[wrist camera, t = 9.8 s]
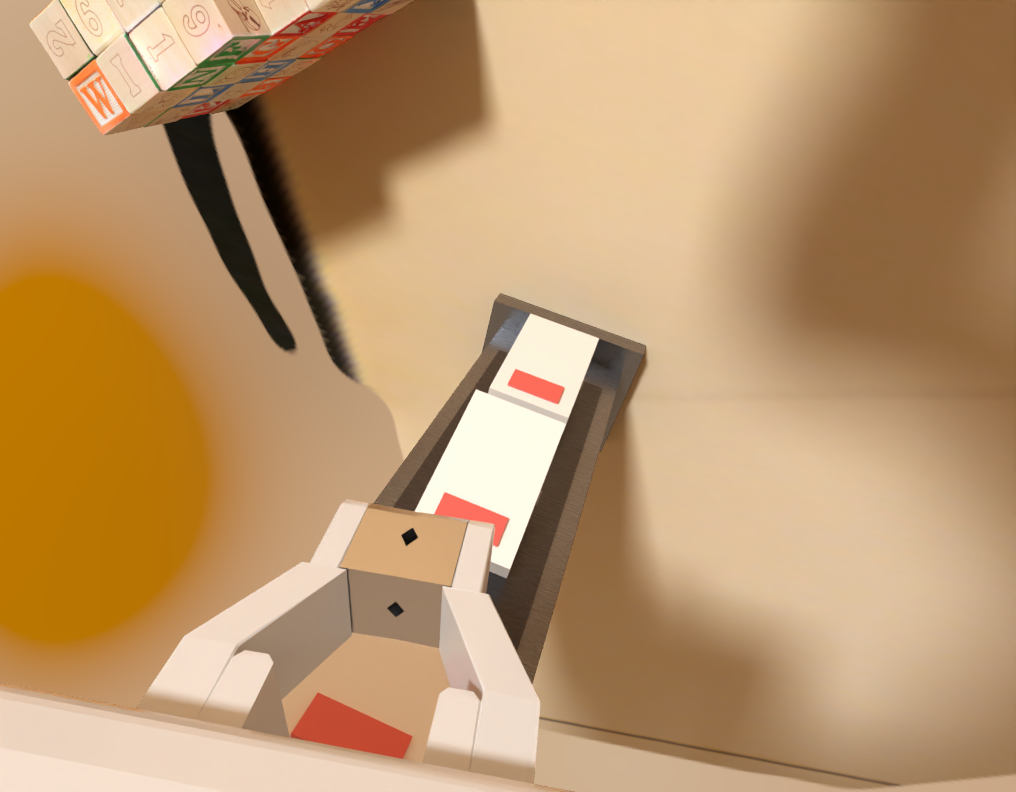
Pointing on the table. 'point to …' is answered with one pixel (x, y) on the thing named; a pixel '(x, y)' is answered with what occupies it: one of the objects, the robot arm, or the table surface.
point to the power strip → (566, 484)
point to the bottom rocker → (545, 368)
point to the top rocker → (370, 697)
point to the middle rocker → (494, 471)
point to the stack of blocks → (190, 51)
